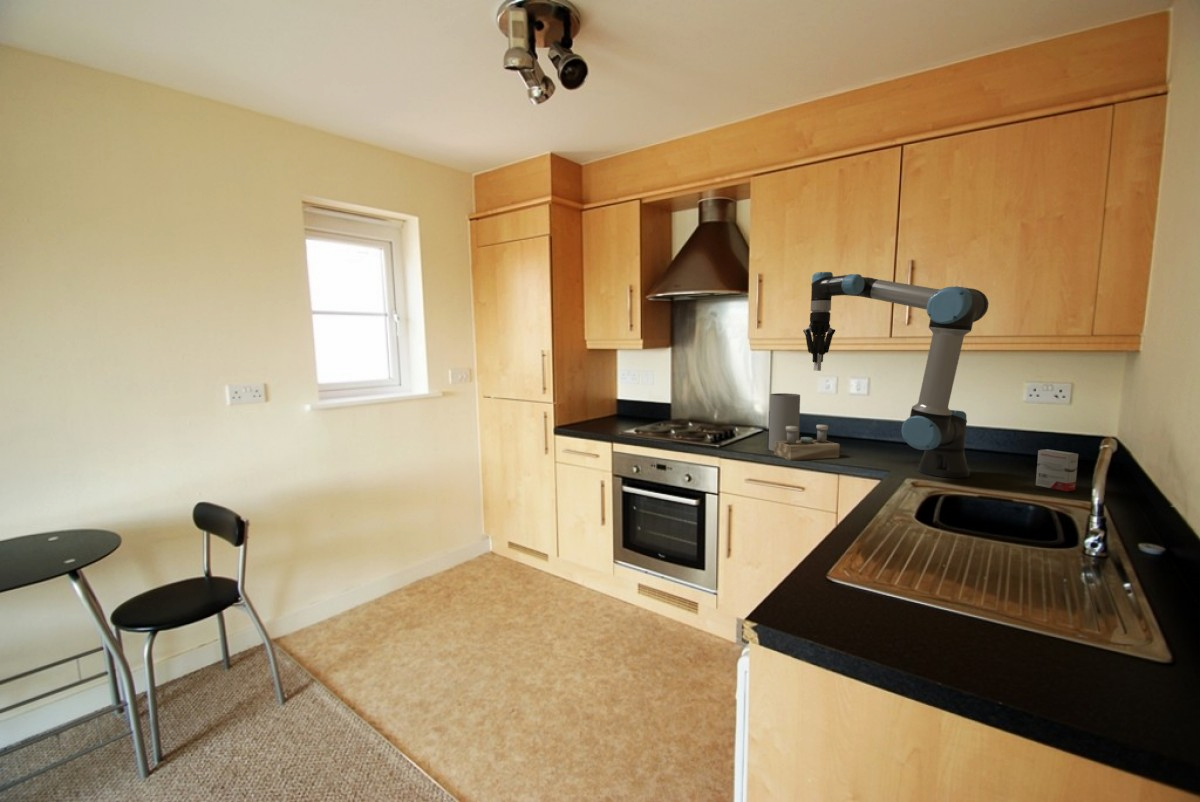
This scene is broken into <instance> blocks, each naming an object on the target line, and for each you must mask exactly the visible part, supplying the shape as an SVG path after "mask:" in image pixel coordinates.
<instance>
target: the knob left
mask: <svg viewBox="0 0 1200 802" xmlns="http://www.w3.org/2000/svg"><path fill="white" fill-rule="evenodd" d="M786 431H787V444H788V445H796V431H798V427H796V426H786Z"/></svg>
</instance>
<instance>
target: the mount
mask: <svg viewBox="0 0 1200 802" xmlns="http://www.w3.org/2000/svg"><path fill="white" fill-rule="evenodd" d="M840 446H841V445H840V443H837V442H833V441H829V440H826V443H817V438H815V439H813V442H811V444H803V443H802V442H801V439H799V440H796V445H788V444H787V441H775V451H774V453H773V454H774V455H776V456H777V457H780V458H783V459H786V460H788V461H803V460H818V459H835V458H840V448H841V447H840Z"/></svg>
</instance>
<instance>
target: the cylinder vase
mask: <svg viewBox="0 0 1200 802" xmlns="http://www.w3.org/2000/svg"><path fill="white" fill-rule="evenodd" d="M800 409H801V394H800V393H799V394H798V393H787V392H786V393H783V392H782V393H776V392H775V393H770V394H769V414H768V415H769V418H768V419H769V421H768V429H769V430H768V450H769V451H772V452H775V441H787V431H786V426H796V427H798V431H796V440H800V420H801V419H800V413H801V410H800Z"/></svg>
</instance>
